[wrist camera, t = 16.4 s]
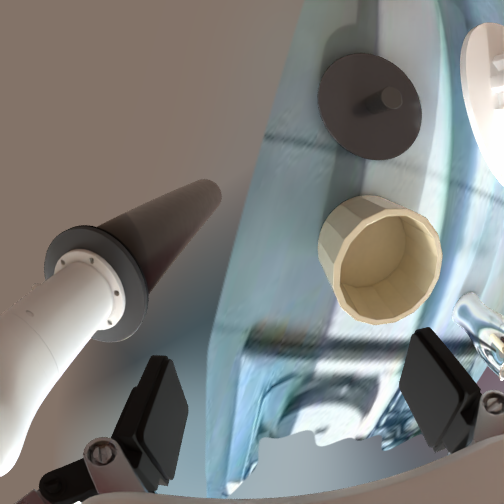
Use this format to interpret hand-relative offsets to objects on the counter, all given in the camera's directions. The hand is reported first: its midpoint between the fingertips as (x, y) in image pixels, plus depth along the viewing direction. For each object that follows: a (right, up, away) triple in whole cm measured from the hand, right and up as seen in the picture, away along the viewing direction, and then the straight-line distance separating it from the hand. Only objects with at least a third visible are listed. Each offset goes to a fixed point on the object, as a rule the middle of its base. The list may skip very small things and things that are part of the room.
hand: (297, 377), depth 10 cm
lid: (+12, +22, +18) cm, 30 cm away
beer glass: (+33, -4, +27) cm, 43 cm away
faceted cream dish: (+12, +6, +24) cm, 28 cm away
